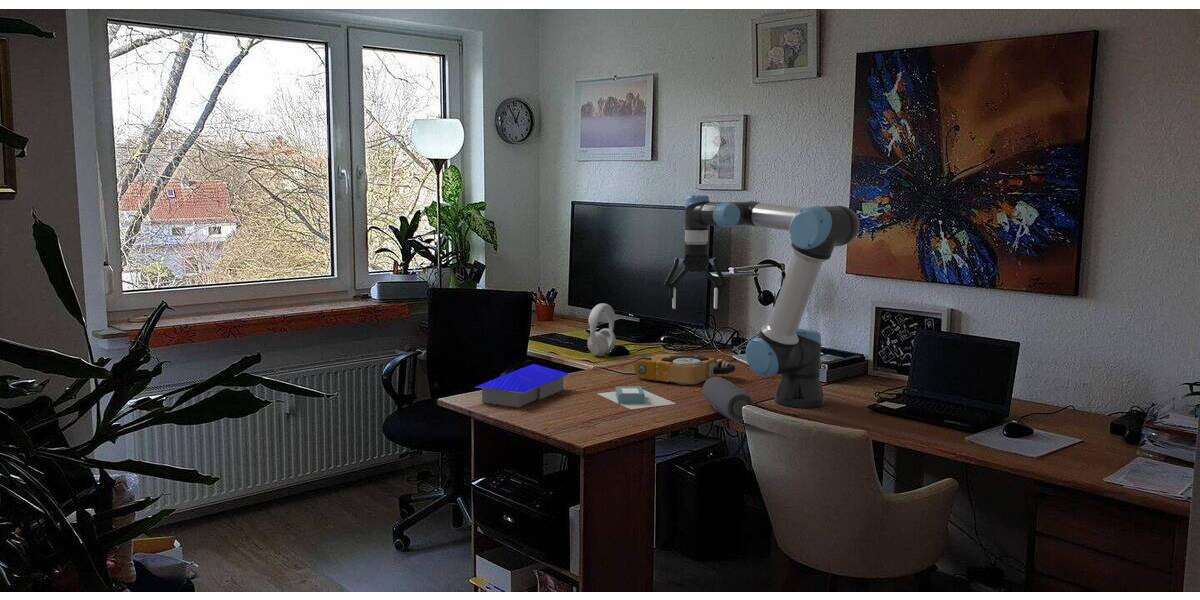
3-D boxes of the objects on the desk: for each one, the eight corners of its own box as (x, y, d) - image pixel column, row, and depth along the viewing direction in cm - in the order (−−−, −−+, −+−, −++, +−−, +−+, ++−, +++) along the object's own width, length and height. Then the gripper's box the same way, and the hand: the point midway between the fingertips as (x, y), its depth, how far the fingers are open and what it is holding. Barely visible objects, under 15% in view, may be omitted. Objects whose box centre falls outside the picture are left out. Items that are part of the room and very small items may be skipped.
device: (663, 346, 352) (739, 355, 336) (662, 368, 353) (739, 379, 337) (631, 356, 333) (710, 366, 317) (631, 380, 334) (710, 391, 318)
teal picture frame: (641, 386, 308) (644, 393, 298) (640, 395, 308) (644, 403, 299) (615, 386, 307) (618, 393, 298) (615, 395, 308) (618, 403, 298)
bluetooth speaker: (756, 425, 277) (757, 391, 276) (725, 427, 275) (725, 392, 274) (729, 406, 299) (730, 374, 298) (700, 407, 297) (700, 375, 296)
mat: (676, 405, 299) (676, 403, 299) (630, 411, 292) (630, 409, 291) (640, 390, 318) (640, 388, 318) (596, 395, 311) (596, 393, 311)
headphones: (602, 350, 386) (602, 300, 384) (620, 351, 383) (620, 301, 380) (582, 358, 370) (582, 305, 367) (601, 360, 367) (601, 307, 364)
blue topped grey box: (524, 410, 292) (524, 379, 291) (475, 404, 300) (474, 373, 298) (569, 390, 319) (569, 361, 318) (523, 384, 327) (523, 356, 325)
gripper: (732, 242, 319) (730, 306, 322) (656, 241, 318) (655, 306, 321) (736, 244, 312) (734, 310, 315) (658, 243, 311) (657, 309, 314)
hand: (694, 308), depth 318 cm, fingers open, 13 cm apart
